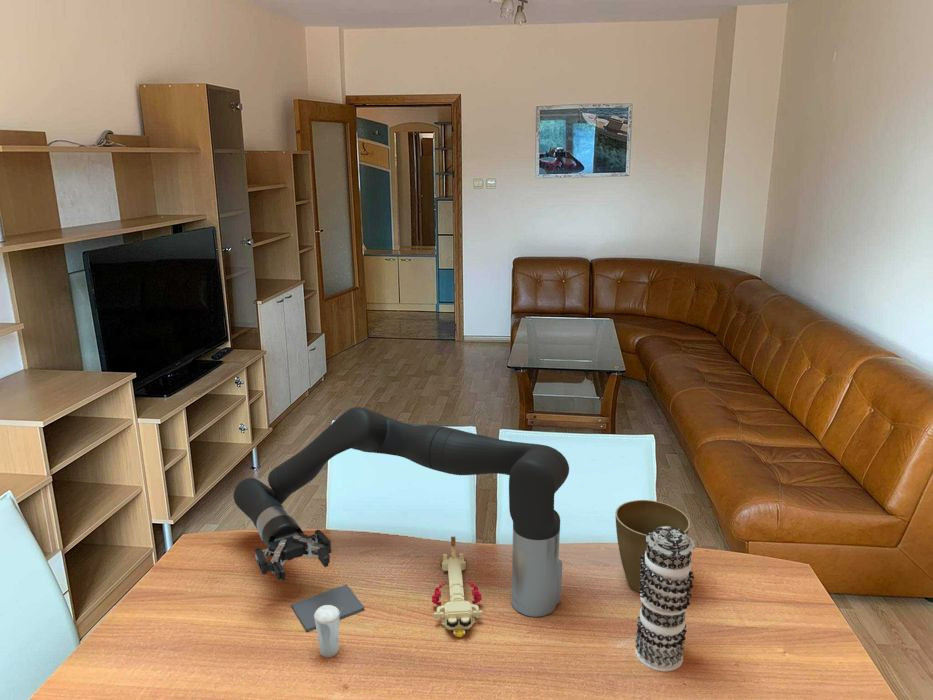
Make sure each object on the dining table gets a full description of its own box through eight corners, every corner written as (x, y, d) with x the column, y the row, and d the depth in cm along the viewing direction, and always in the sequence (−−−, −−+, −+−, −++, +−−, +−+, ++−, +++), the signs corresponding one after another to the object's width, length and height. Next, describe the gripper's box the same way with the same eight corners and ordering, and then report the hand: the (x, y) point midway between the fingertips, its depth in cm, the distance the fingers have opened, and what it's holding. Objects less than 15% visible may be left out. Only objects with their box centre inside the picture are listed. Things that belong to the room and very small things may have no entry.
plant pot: (646, 615, 134) (652, 544, 130) (596, 576, 147) (600, 510, 142) (698, 591, 142) (706, 523, 137) (646, 556, 154) (652, 492, 149)
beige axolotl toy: (431, 570, 151) (432, 640, 127) (430, 534, 149) (432, 597, 125) (475, 568, 152) (485, 637, 127) (475, 532, 150) (485, 595, 125)
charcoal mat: (346, 586, 143) (346, 584, 143) (364, 610, 136) (364, 607, 136) (291, 606, 137) (291, 603, 137) (306, 632, 130) (306, 629, 129)
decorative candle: (628, 636, 128) (637, 519, 121) (677, 637, 128) (689, 520, 121) (638, 672, 120) (649, 548, 113) (691, 673, 119) (705, 549, 112)
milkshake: (343, 660, 122) (340, 613, 120) (314, 660, 122) (310, 613, 120) (348, 643, 127) (345, 597, 124) (319, 642, 127) (316, 596, 124)
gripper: (243, 524, 139) (267, 564, 126) (310, 505, 146) (339, 541, 133) (246, 556, 141) (270, 598, 128) (312, 536, 148) (341, 574, 135)
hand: (305, 569), depth 131 cm, fingers open, 8 cm apart
